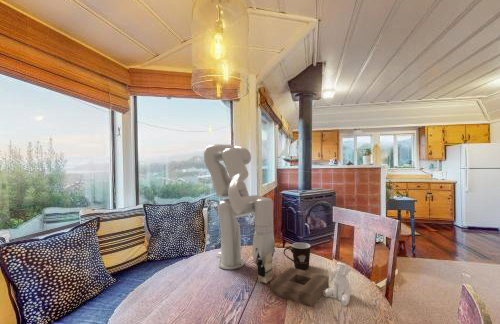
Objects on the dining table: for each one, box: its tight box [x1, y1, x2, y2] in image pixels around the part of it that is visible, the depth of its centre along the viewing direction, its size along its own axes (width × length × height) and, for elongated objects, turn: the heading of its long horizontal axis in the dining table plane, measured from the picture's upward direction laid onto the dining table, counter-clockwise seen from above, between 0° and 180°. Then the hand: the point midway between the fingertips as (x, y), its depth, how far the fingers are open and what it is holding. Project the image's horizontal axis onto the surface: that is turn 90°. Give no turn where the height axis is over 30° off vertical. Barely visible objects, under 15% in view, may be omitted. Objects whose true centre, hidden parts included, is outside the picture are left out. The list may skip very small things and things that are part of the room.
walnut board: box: [270, 266, 330, 308], centre depth 93 cm, size 16×16×4 cm
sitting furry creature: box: [322, 261, 352, 307], centre depth 87 cm, size 10×9×12 cm
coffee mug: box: [283, 242, 311, 271], centre depth 114 cm, size 12×9×10 cm
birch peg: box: [257, 252, 273, 284], centre depth 100 cm, size 4×4×12 cm
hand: (264, 272), depth 100 cm, fingers closed on birch peg, 4 cm apart
